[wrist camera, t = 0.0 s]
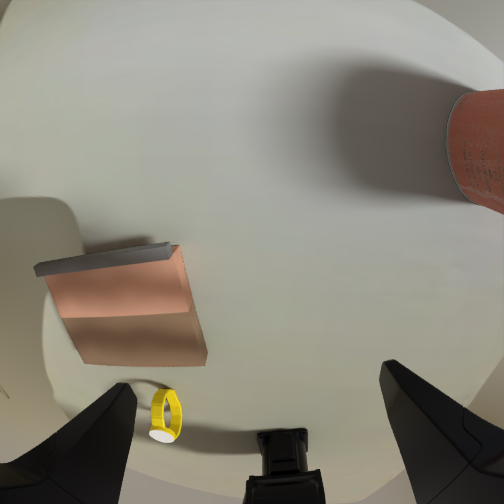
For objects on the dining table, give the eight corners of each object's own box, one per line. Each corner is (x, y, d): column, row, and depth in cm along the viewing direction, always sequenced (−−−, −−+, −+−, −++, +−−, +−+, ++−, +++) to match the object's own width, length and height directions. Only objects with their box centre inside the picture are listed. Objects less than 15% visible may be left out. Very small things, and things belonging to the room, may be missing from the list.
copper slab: (207, 352, 27) (203, 373, 24) (91, 352, 27) (80, 369, 25) (176, 233, 22) (165, 246, 20) (50, 254, 23) (33, 266, 20)
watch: (190, 410, 31) (183, 450, 25) (169, 409, 31) (160, 448, 25) (175, 380, 28) (164, 424, 23) (152, 379, 28) (139, 422, 23)
